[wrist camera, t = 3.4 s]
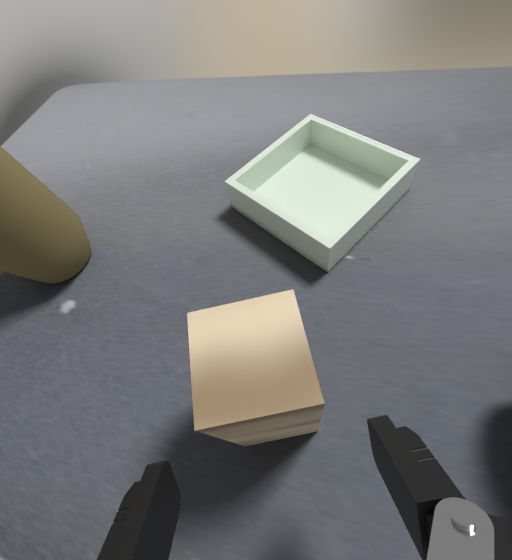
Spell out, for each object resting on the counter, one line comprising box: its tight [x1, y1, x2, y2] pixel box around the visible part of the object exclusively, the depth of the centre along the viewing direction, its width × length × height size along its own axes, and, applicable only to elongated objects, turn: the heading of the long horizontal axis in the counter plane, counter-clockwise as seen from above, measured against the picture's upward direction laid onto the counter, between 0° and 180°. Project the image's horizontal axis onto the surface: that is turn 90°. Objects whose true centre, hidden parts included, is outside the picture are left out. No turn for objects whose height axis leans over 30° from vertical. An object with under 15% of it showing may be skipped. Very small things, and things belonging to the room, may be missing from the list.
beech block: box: [187, 290, 324, 446], centre depth 18 cm, size 5×5×11 cm
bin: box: [225, 114, 420, 272], centre depth 30 cm, size 12×12×4 cm
